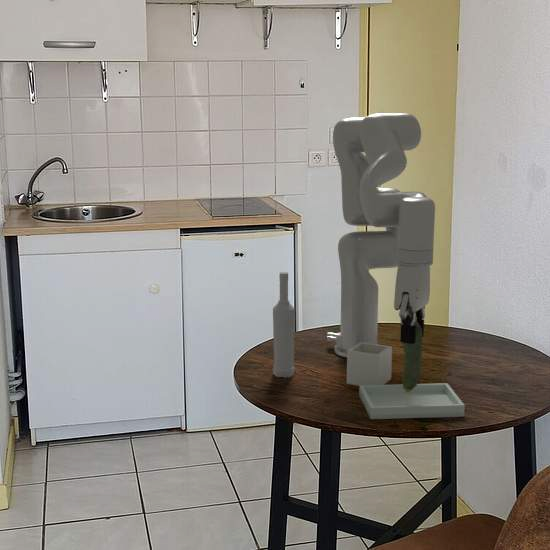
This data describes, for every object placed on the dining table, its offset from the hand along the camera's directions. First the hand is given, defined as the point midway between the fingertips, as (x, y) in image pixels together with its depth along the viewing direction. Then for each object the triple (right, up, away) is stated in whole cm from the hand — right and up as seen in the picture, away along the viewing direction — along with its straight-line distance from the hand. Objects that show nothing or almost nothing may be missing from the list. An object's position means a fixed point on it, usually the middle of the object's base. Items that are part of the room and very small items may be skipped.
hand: (412, 338), depth 195 cm
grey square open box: (-7, -11, +19) cm, 23 cm away
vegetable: (0, -12, +3) cm, 13 cm away
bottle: (-27, -11, +24) cm, 38 cm away
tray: (0, -15, +3) cm, 15 cm away
